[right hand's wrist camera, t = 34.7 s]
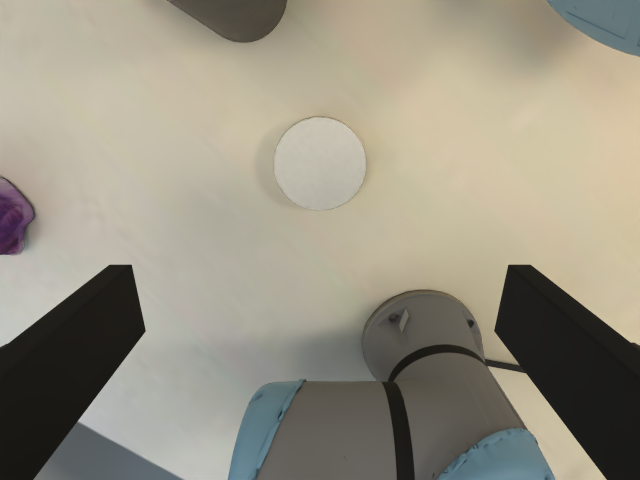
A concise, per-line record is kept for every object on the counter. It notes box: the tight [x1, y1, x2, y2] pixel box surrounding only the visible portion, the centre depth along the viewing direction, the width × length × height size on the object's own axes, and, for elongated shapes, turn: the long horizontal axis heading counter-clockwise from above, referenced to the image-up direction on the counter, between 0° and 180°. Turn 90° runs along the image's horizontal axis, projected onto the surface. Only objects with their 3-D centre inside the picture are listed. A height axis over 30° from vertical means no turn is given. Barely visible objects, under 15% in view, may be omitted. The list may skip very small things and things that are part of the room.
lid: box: [274, 116, 366, 211], centre depth 39 cm, size 10×10×2 cm
